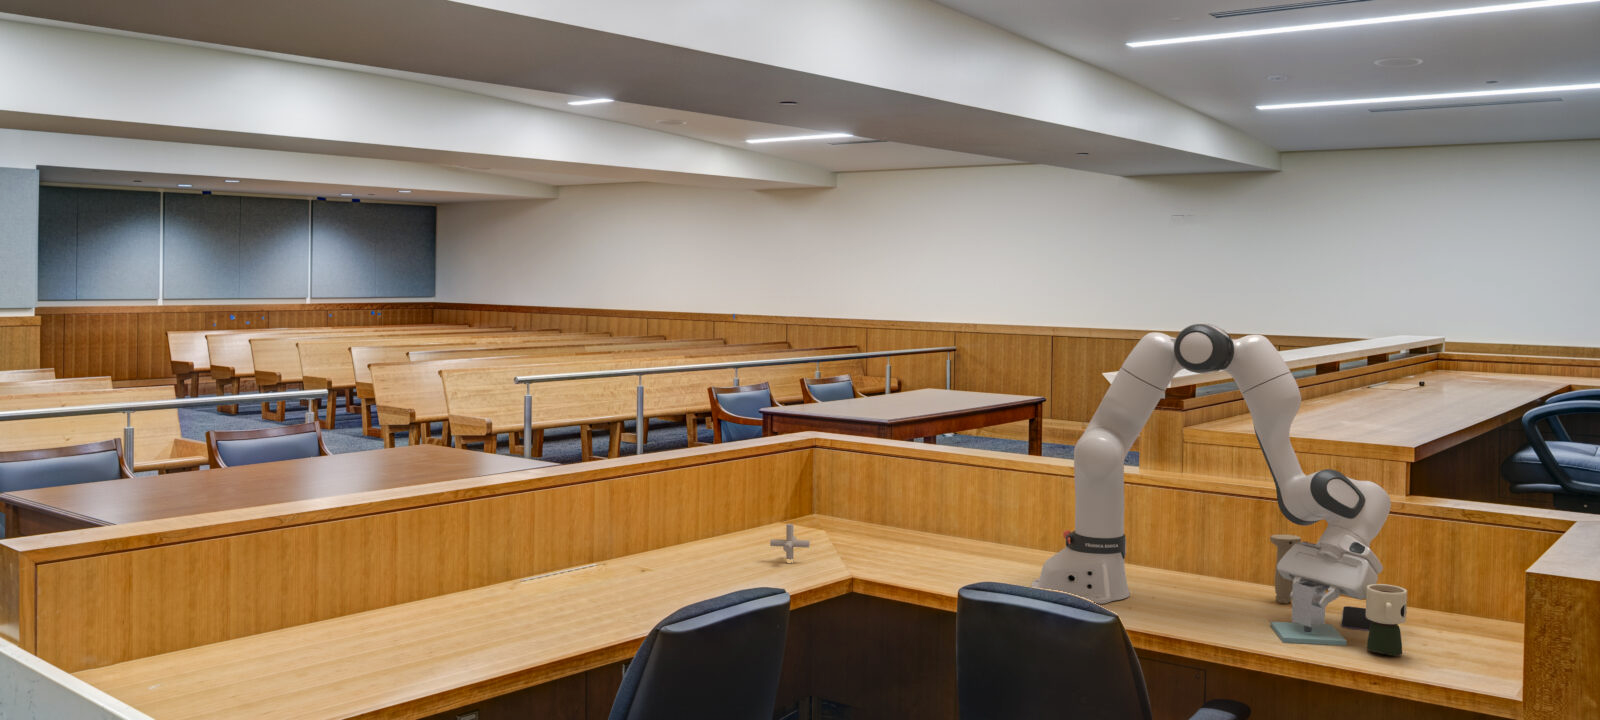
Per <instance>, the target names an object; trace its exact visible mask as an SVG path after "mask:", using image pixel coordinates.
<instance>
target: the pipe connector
mask: <svg viewBox="0 0 1600 720" xmlns="http://www.w3.org/2000/svg"><path fill="white" fill-rule="evenodd" d="M785 530H786V531H785V533H786V536H785V537H786V539H779V538H777V539H775V538H770V539H769V540H770V541H769V544H770V547H783V548H782V549H783V551H784V552H786V554H785V555H786V556H785V557H786V559H790V560H791V559H793V560H794V548H808V549H809V548H810V543H811V542H810V540H808V539H807V540H801V539H797V537H796V535H794V523H786V528H785Z"/></svg>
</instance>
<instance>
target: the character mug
mask: <svg viewBox="0 0 1600 720" xmlns="http://www.w3.org/2000/svg"><path fill="white" fill-rule="evenodd" d="M1407 603H1408V590H1407V589H1406V588H1404V587H1401V586H1398V585H1392V584H1387V583H1385V584H1384V583H1376V584H1371V585H1368V586H1367V591H1366V598H1365V608H1366V618H1367V619H1369V620H1371V621H1374V622H1372V623H1371V625H1370V630H1369V631H1368V636H1367V643H1366V650H1368V651H1370V652H1373V653H1379V654H1382V655H1383V656H1384V657H1385V656H1387V655H1389V656H1401V655H1402V654H1403V643H1402V633H1401V628H1400V626H1399V625H1400V624H1404V623H1406V621H1407V613H1408V612H1407V611H1408V610H1407V609H1408V607H1407V605H1408V604H1407Z"/></svg>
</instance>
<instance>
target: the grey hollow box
mask: <svg viewBox="0 0 1600 720" xmlns="http://www.w3.org/2000/svg"><path fill="white" fill-rule="evenodd" d="M1326 591H1327V590H1326V586H1324V585H1321V584H1317V583H1313V582H1310V581H1302V582H1297V583H1293V594H1292V600H1291V622H1292V623H1299V624H1302V625H1305V626H1309V627H1314V626H1319V625H1323V624H1326V623H1325V621H1326V608H1325V609H1324V608H1321V607H1318V606H1317V605H1316V604H1315V601H1316V600H1317V598H1318V596H1324V595H1325V594H1326V593H1327V592H1326Z"/></svg>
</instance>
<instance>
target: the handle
mask: <svg viewBox="0 0 1600 720" xmlns="http://www.w3.org/2000/svg"><path fill="white" fill-rule="evenodd" d="M1301 542H1302V537H1301V536H1298V535H1293V534H1272V535H1270V543H1272V544H1273V545H1275V547H1276V550H1277V551H1276V560H1275V561H1276V562H1275V571H1274V591H1275V594H1276V595H1275V601H1276V602H1278V603H1280V604H1290V603H1291V604H1292V598H1291V597H1290V594H1291V592H1292V590H1293V581H1291V580H1288V579H1285V578H1283V577H1282V576H1281V574H1280V573H1279V572H1278V570H1277V564H1278V563H1279V561H1280V560H1281V559H1282V557H1283V556H1284V555H1285V554H1286V553H1287V552H1288V550H1289V549H1290V548H1292V546H1293V545H1294V544H1297V543H1301Z"/></svg>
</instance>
